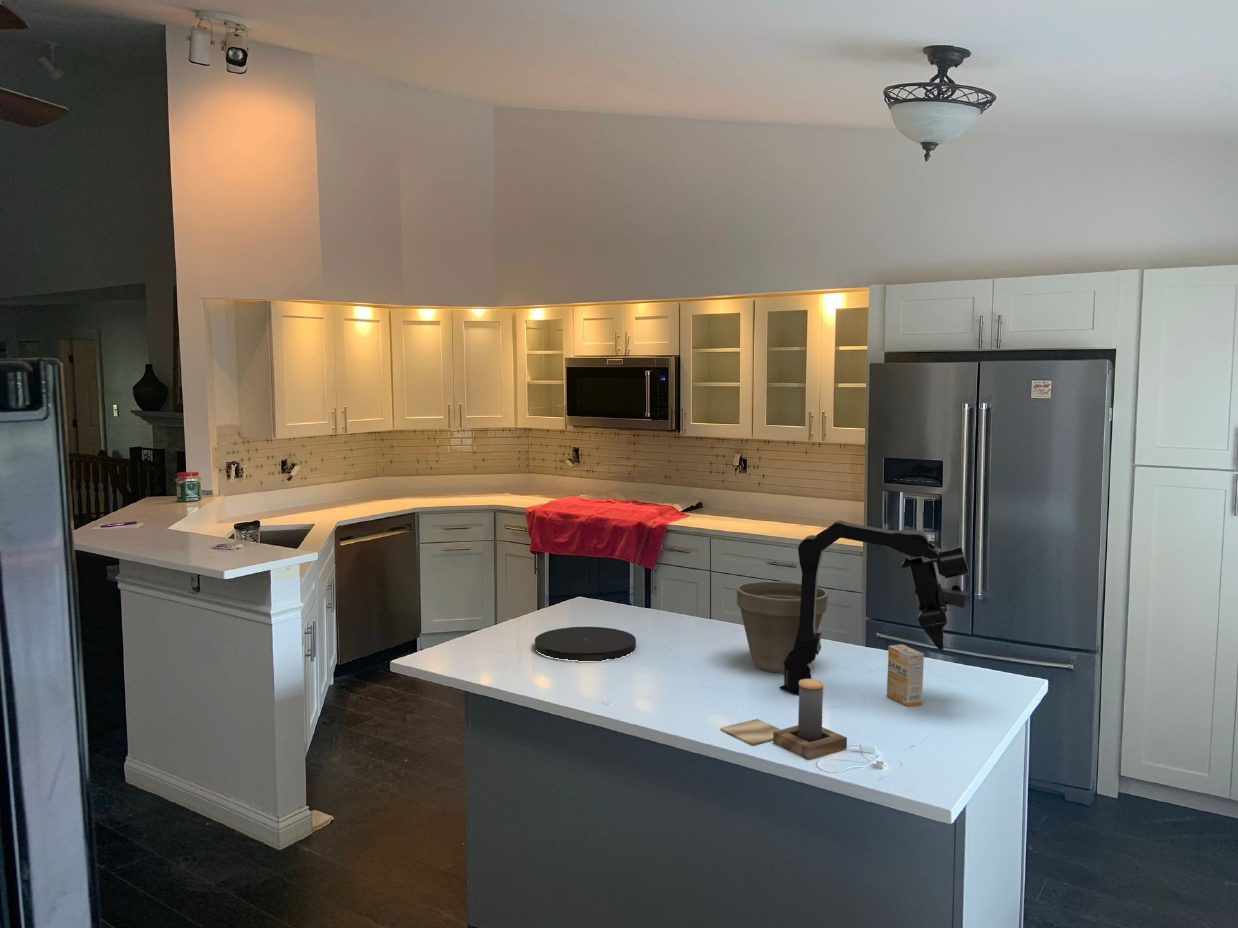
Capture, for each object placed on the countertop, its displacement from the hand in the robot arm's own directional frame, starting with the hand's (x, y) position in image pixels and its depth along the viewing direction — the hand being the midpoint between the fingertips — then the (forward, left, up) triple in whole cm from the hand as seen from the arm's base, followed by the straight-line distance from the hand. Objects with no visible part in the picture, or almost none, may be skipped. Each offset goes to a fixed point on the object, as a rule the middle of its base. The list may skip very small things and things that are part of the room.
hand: (941, 644), depth 226 cm
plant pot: (-45, -10, -15) cm, 49 cm away
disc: (-89, -47, -16) cm, 102 cm away
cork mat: (-10, -50, -15) cm, 53 cm away
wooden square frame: (+2, -45, -15) cm, 48 cm away
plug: (+2, -45, -15) cm, 48 cm away
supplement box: (-7, -4, -15) cm, 18 cm away
